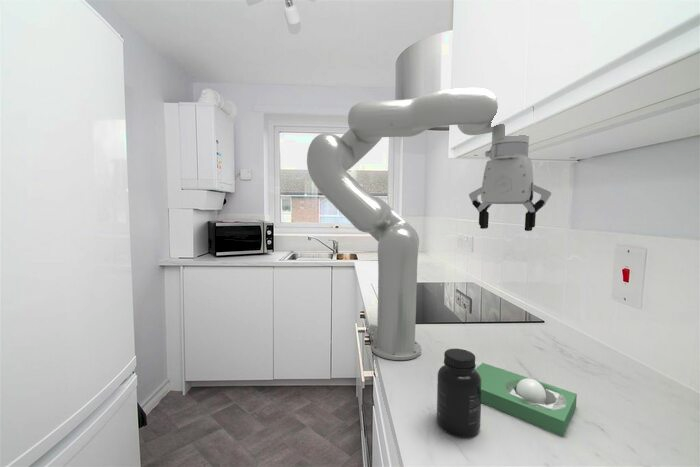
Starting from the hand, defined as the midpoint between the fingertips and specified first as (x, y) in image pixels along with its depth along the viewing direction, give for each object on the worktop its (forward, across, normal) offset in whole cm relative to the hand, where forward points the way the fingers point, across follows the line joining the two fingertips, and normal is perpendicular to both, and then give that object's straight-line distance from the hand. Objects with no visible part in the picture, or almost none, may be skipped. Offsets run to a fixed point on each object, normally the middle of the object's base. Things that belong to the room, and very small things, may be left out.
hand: (505, 229), depth 75 cm
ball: (+29, +10, -14) cm, 34 cm away
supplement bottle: (+32, +3, -29) cm, 43 cm away
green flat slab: (+31, +8, -14) cm, 35 cm away
